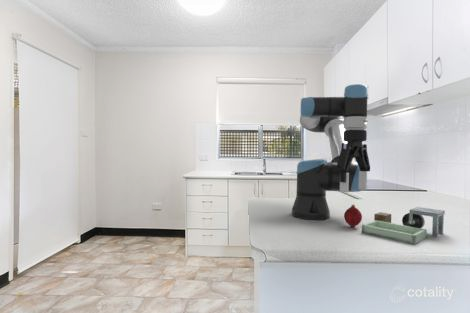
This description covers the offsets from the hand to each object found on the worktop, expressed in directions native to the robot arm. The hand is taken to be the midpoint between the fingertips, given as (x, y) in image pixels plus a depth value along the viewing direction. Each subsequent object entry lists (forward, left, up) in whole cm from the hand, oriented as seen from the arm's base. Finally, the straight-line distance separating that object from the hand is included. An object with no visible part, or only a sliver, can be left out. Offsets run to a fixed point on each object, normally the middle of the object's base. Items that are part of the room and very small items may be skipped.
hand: (353, 190), depth 103 cm
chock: (+5, +13, -13) cm, 19 cm away
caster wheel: (+18, +13, -13) cm, 26 cm away
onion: (0, 0, -13) cm, 13 cm away
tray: (+13, +1, -13) cm, 18 cm away
